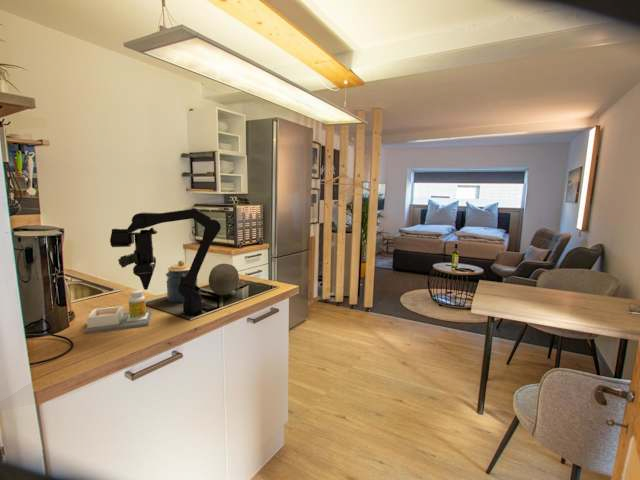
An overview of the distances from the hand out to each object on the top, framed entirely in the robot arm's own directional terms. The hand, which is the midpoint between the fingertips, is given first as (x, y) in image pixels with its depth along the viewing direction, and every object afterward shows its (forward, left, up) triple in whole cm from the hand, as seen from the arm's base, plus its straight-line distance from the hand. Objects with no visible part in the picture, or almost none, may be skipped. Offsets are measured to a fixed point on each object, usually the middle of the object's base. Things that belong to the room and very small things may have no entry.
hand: (146, 286), depth 124 cm
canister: (-12, -18, -12) cm, 25 cm away
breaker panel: (+9, +3, -12) cm, 15 cm away
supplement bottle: (+3, +3, -11) cm, 12 cm away
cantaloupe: (-30, -16, -12) cm, 36 cm away
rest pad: (+3, +3, -12) cm, 13 cm away
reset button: (+13, +3, -11) cm, 17 cm away
